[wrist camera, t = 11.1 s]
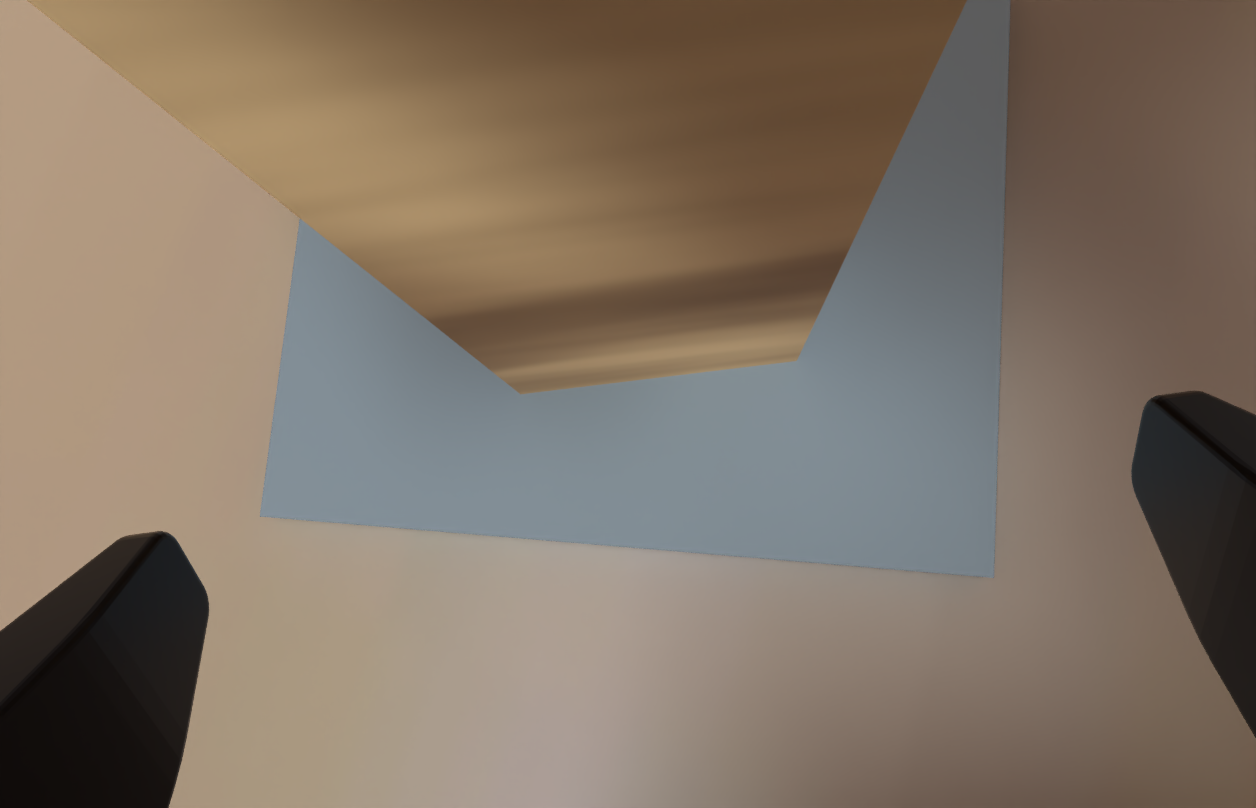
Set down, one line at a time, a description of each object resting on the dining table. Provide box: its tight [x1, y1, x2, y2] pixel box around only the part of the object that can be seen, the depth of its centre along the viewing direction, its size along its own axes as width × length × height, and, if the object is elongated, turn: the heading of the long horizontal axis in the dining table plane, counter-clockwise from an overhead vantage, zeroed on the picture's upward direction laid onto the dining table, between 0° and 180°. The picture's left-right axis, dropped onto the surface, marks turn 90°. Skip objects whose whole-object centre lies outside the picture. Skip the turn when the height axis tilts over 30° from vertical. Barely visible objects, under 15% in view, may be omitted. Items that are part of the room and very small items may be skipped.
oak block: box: [27, 0, 967, 394], centre depth 11 cm, size 5×5×13 cm
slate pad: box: [260, 0, 1010, 578], centre depth 18 cm, size 11×13×1 cm
